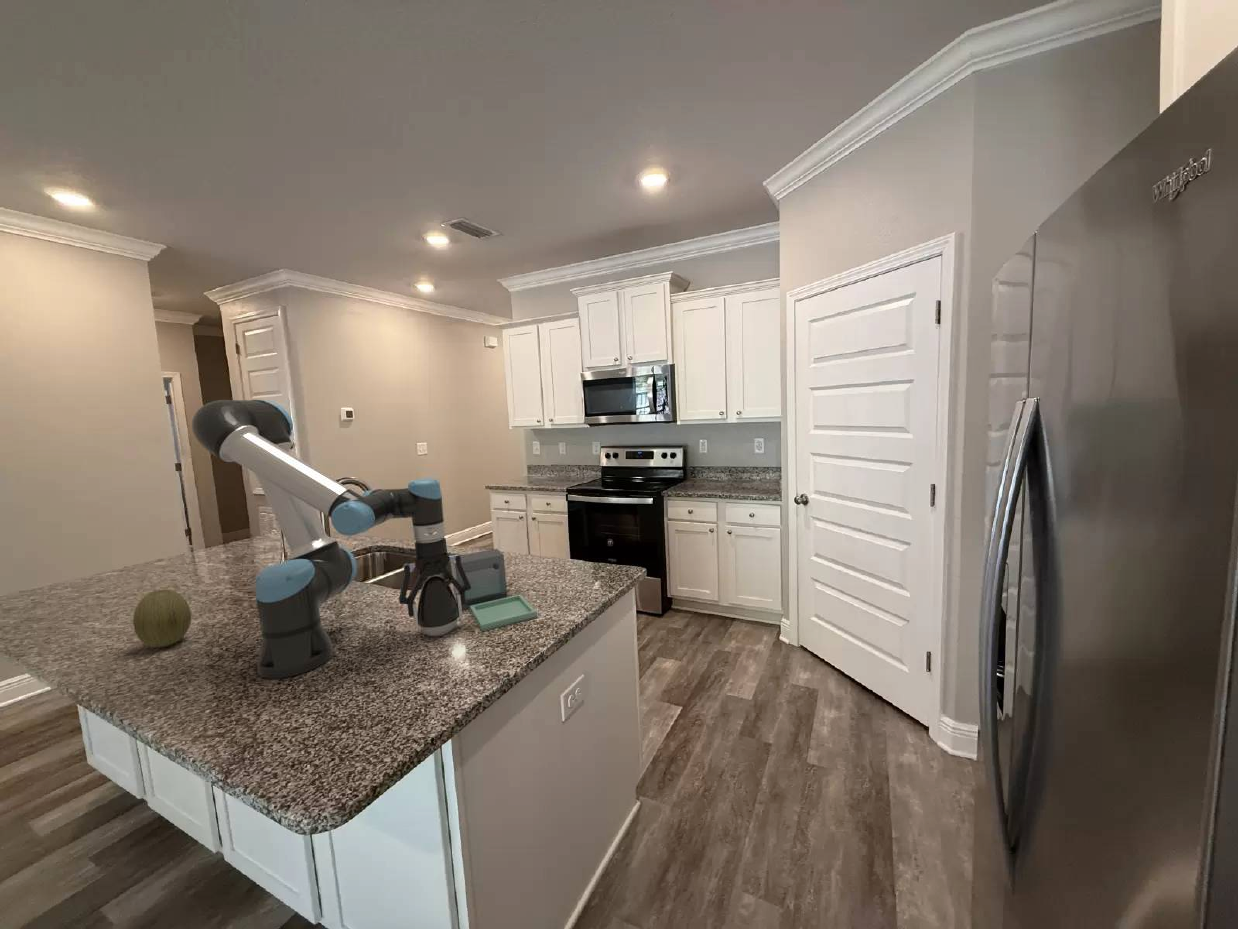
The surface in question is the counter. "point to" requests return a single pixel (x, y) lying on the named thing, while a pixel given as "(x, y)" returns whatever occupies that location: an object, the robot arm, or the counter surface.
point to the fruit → (162, 618)
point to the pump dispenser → (437, 607)
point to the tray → (502, 612)
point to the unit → (482, 577)
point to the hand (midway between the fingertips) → (438, 621)
